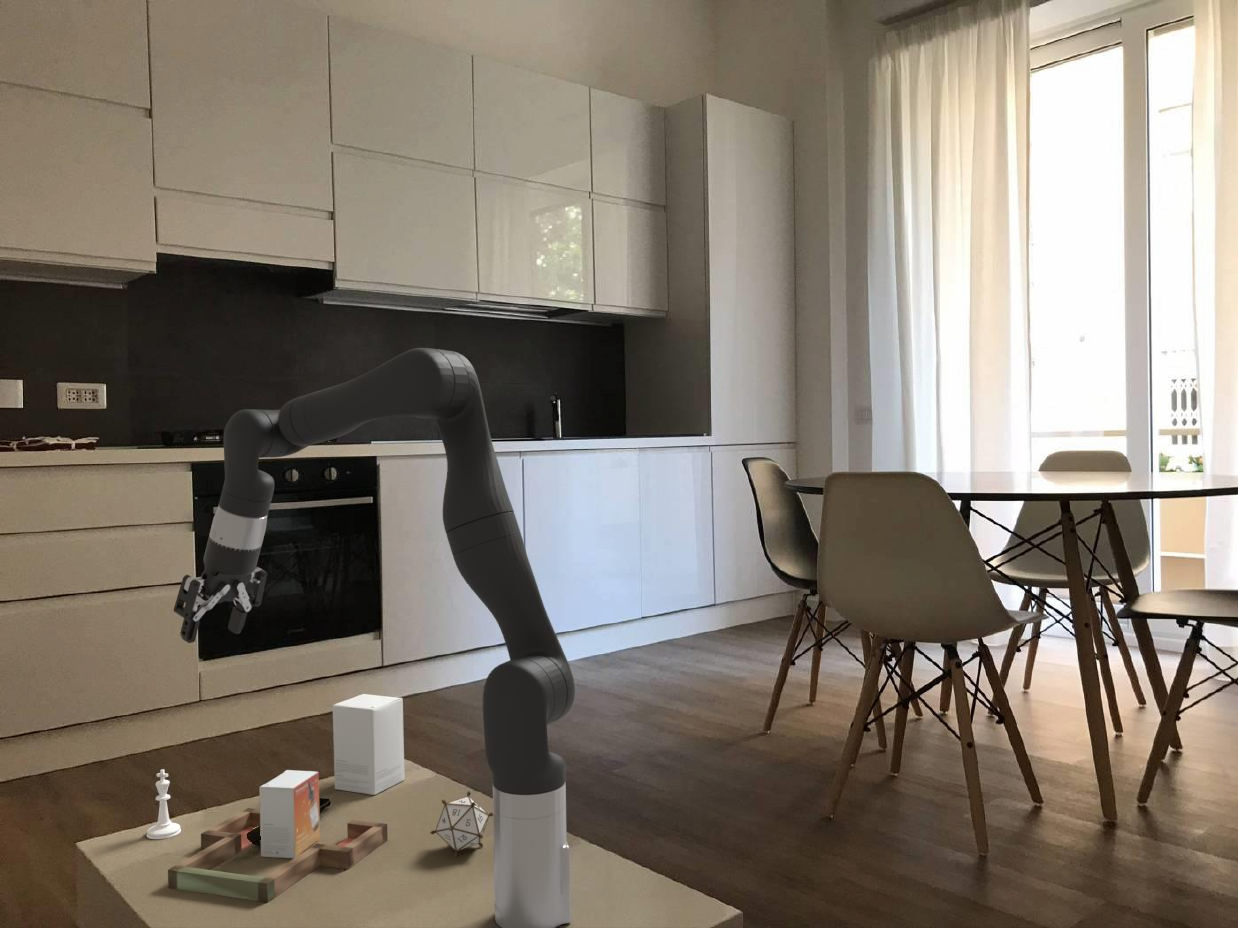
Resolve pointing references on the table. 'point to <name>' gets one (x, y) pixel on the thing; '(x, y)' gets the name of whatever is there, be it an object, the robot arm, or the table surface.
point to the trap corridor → (233, 840)
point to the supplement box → (368, 743)
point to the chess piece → (163, 813)
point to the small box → (289, 814)
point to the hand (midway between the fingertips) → (211, 635)
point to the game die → (462, 823)
